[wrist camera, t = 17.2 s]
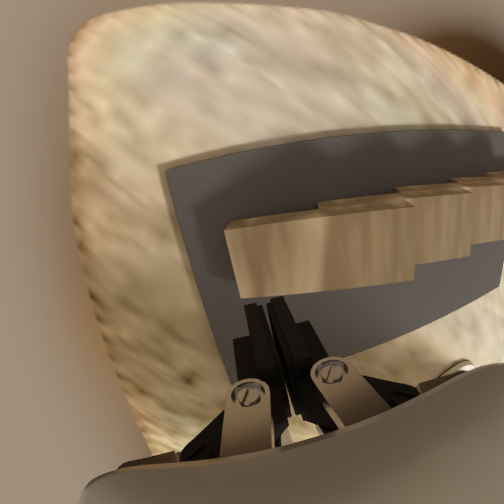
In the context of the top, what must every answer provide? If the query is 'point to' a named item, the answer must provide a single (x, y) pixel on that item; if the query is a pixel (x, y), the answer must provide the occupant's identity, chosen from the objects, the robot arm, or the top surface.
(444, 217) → the domino
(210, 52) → the top surface
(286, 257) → the domino
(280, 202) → the mat
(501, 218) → the domino
